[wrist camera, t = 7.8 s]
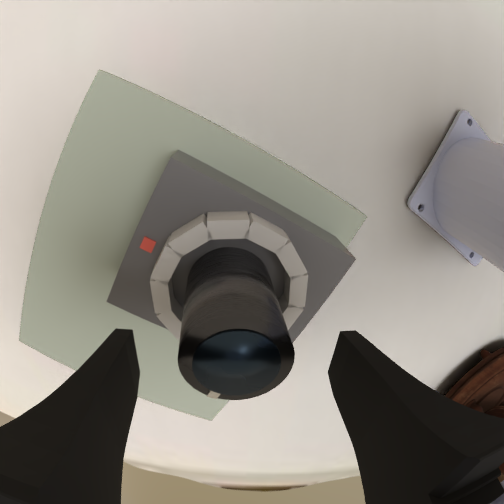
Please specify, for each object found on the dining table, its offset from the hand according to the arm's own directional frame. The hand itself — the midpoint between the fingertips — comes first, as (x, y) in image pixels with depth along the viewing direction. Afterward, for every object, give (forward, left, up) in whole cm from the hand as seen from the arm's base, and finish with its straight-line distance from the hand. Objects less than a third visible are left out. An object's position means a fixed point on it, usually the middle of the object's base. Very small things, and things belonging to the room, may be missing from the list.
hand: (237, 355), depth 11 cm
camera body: (0, 0, -8) cm, 8 cm away
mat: (+3, +4, -9) cm, 10 cm away
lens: (0, 0, -5) cm, 5 cm away
